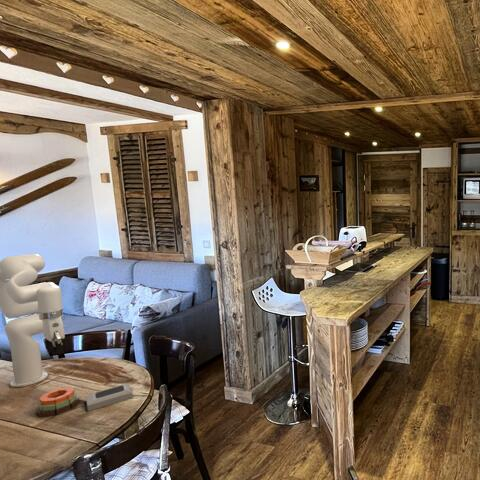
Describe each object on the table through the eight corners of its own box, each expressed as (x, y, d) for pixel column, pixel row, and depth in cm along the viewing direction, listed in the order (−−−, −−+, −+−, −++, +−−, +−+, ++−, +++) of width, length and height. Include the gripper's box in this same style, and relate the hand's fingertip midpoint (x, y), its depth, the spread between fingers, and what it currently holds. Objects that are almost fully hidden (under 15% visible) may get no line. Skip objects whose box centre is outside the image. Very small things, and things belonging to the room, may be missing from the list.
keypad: (85, 393, 154) (128, 381, 165) (86, 401, 155) (129, 389, 165) (86, 403, 147) (131, 390, 158) (87, 411, 148) (132, 397, 158)
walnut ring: (34, 410, 148) (33, 405, 148) (72, 396, 158) (71, 391, 158) (43, 419, 142) (43, 414, 142) (82, 404, 152) (82, 400, 152)
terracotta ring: (37, 400, 148) (36, 395, 148) (69, 389, 157) (68, 385, 156) (45, 408, 143) (44, 403, 142) (77, 396, 151) (77, 392, 151)
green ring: (35, 404, 148) (35, 400, 148) (70, 392, 158) (70, 388, 157) (44, 413, 142) (43, 409, 142) (80, 400, 152) (79, 396, 152)
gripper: (69, 316, 152) (72, 353, 155) (56, 307, 161) (59, 342, 164) (45, 321, 146) (49, 360, 149) (33, 312, 155) (36, 348, 158)
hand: (54, 350), depth 156 cm, fingers open, 9 cm apart
